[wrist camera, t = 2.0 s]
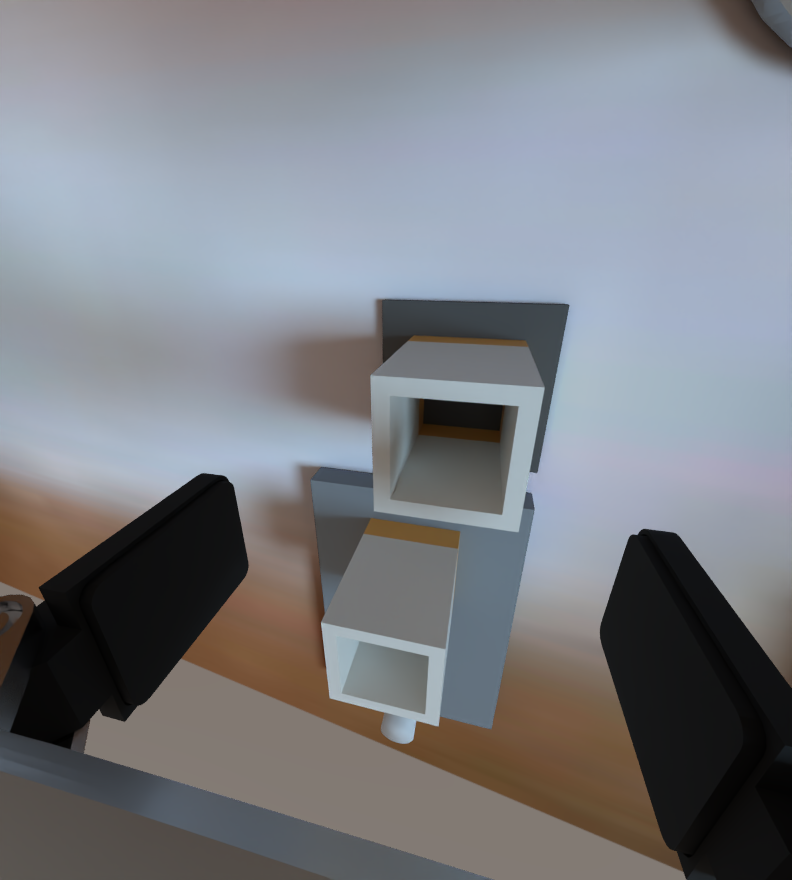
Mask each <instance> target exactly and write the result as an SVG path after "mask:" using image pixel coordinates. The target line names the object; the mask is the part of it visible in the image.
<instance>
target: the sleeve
mask: <svg viewBox="0 0 792 880" xmlns="http://www.w3.org/2000/svg"><path fill="white" fill-rule="evenodd" d="M370 378H371V417H372V456H373V495H374V511H376V512H383V513H389V514H396V515H403V516H410V517H417V518H423V519H430V520H437V521H444V522H451V523H458V524H464V525H471V526H478V527H485V528H492V529H498V530H505V531H512V532H519V527H520V522H521V516H522V511H523V505H524V500H525V494H526V489H527V483H528V478H529V472H530V467H531V461H532V455H533V450H534V444H535V439H536V433H537V428H538V422H539V417H540V411H541V406H542V400H543V395H544V389H545V387H544V384H543V382H542V379H541V377H540V374H539V372H538V369H537V367H536V364H535V362H534V359H533V357H532V355H531V352H530V350H529V347H528V345H527V342H526V341H525V340H503V339H482V338H460V337H438V336H416V335H414V336H413V337H412V338H410V339H409V340H408V341H407V342H406V343H405V344H404V345H403V346H402V347H401V348H400V349H399V350H397V351H396V352H395V353H394V354H393V355H392V356H391V357H390V358H389V359H388V360H387V361H385V362H384V363H383V364H382V365H381V366H380V367H379V368H378V369H377V370H376V371H375V372H374V373H372V374H371V375H370ZM424 399H435V400H448V401H460V402H473V403H485V404H497V405H503V409H502V416H501V424H500V431H496V430H486V429H475V428H464V427H454V426H443V425H433V424H423V417H424Z"/></svg>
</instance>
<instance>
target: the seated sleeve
mask: <svg viewBox="0 0 792 880" xmlns="http://www.w3.org/2000/svg"><path fill="white" fill-rule="evenodd" d="M459 539H460V531H454V530H447V529H441V528H434V527H427V526H421V525H414V524H408V523H401V522H394V521H388V520H381V519H374V518H371V519H370V521H369V523H368V526H367V528H366V530H365V532H364V534H363V536H362V538H361V540H360V542H359V544H358V546H357V548H356V551H355V553H354V555H353V557H352V559H351V561H350V563H349V565H348V567H347V569H346V571H345V573H344V576H343V578H342V580H341V582H340V584H339V586H338V588H337V590H336V592H335V594H334V596H333V598H332V601H331V603H330V605H329V607H328V609H327V611H326V613H325V615H324V617H323V619H322V621H321V627H322V635H323V644H324V652H325V661H326V669H327V678H328V686H329V695H330V698H331V699H335V700H339V701H343V702H347V703H350V704H354V705H358V706H362V707H366V708H370V709H374V710H377V711H381V712H385V713H389V714H393V715H397V716H401V717H404V718H408V719H412V720H416V721H420V722H424V723H428V724H431V725H435V726H439V718H440V709H441V701H442V693H443V684H444V676H445V668H446V659H447V651H448V643H449V634H450V626H451V617H452V609H453V601H454V591H455V581H456V570H457V560H458V550H459Z"/></svg>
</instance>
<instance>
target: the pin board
mask: <svg viewBox="0 0 792 880" xmlns="http://www.w3.org/2000/svg"><path fill="white" fill-rule="evenodd" d="M310 481H311V490H312V499H313V508H314V517H315V527H316V536H317V545H318V554H319V563H320V572H321V581H322V591H323V600H324V609H325V613H326V611H327V609H328V607H329V605H330V603H331V601H332V598H333V596H334V594H335V592H336V590H337V588H338V586H339V584H340V582H341V580H342V578H343V576H344V573H345V571H346V569H347V567H348V565H349V563H350V561H351V559H352V557H353V555H354V553H355V551H356V548H357V546H358V544H359V542H360V540H361V538H362V536H363V534H364V532H365V530H366V528H367V526H368V523H369V521H370V519H371V518H374V519H381V520H388V521H394V522H401V523H408V524H414V525H421V526H427V527H434V528H441V529H447V530H454V531H460V539H459V550H458V560H457V570H456V581H455V591H454V601H453V609H452V617H451V626H450V634H449V643H448V651H447V659H446V668H445V676H444V684H443V693H442V701H441V709H440V716H441V717H445V718H449V719H453V720H456V721H460V722H464V723H468V724H472V725H476V726H480V727H484V728H488V729H491V728H492V723H493V718H494V713H495V708H496V703H497V698H498V693H499V688H500V683H501V678H502V673H503V667H504V662H505V657H506V652H507V647H508V642H509V637H510V632H511V627H512V622H513V617H514V612H515V607H516V601H517V596H518V591H519V586H520V581H521V576H522V571H523V566H524V561H525V556H526V551H527V546H528V541H529V536H530V530H531V525H532V520H533V515H534V504H533V498H532V494H531V493H526V494H525V500H524V505H523V511H522V516H521V522H520V527H519V532H512V531H505V530H498V529H492V528H485V527H478V526H471V525H464V524H458V523H451V522H444V521H437V520H430V519H423V518H417V517H410V516H403V515H396V514H389V513H383V512H376V511H374V495H373V474H372V473H364V472H356V471H348V470H340V469H332V468H324V467H321V468H320V469H319V470H318V472H317V473H316V474H315V475H314V476H313V478H312V479H311V480H310ZM415 725H416V720H412V719H408V718H404V717H401V716H397V715H393V714H389V713H384V717H383V722H382V726H381V732H382V733H383V735H384V736H385V737H387V738H388V739H390V740H391V741H394V742H397V743H403V744H405V743H410V742H411V741H412V740H413V737H414V731H415Z"/></svg>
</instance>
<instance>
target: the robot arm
mask: <svg viewBox="0 0 792 880" xmlns="http://www.w3.org/2000/svg"><path fill="white" fill-rule="evenodd" d="M751 1H752V2H753V4H754V6H755V8H756V10H757V12H758V13H759V15H760V17H761V19H762V20H763V21H764V22H765V23H766V24H767V25H768V26H769V27H770V28H771V29H772V30H773V31H774V32H775V33H776V34H777V35H778V36H779V37H780V38H781V39H782V40H783V41H784V42H786V43H787V44H788V45H789V46H790V47H791V48H792V0H751ZM248 566H249V565H248V558H247V553H246V548H245V543H244V537H243V532H242V527H241V522H240V517H239V511H238V506H237V501H236V496H235V491H234V487H233V484H232V483H230V482H229V480H228V479H227V477H225V476H222V475H214V474H206V473H202V474H200V475H198V476H196V477H195V478H193V479H192V480H191V481H189V482H188V483H186V484H185V485H183V486H182V487H181V488H179V489H178V490H176V491H175V492H174V493H172V494H171V495H169V496H168V497H166V498H165V499H164V500H162V501H161V502H159V503H158V504H156V505H155V506H154V507H152V508H151V509H149V510H148V511H147V512H145V513H144V514H142V515H141V516H139V517H138V518H137V519H135V520H134V521H132V522H131V523H129V524H128V525H127V526H125V527H124V528H122V529H121V530H119V531H118V532H117V533H115V534H114V535H112V536H111V537H110V538H108V539H107V540H105V541H104V542H102V543H101V544H100V545H98V546H97V547H95V548H94V549H92V550H91V551H90V552H88V553H87V554H85V555H84V556H83V557H81V558H80V559H78V560H77V561H75V562H74V563H73V564H71V565H70V566H68V567H67V568H65V569H64V570H63V571H61V572H60V573H58V574H57V575H56V576H54V577H53V578H51V579H50V580H48V581H47V582H46V583H44V584H43V585H41V586H40V587H39V589H40V591H41V593H42V595H43V597H44V599H45V601H43V602H42V603H41V604H39V605H38V606H37V607H36V606H35V604H34V602H33V601H32V599H31V598H30V597H28V596H25V595H6V596H1V597H0V880H493V879H490V878H487V877H484V876H481V875H477V874H474V873H471V872H468V871H465V870H461V869H458V868H455V867H452V866H449V865H445V864H442V863H439V862H436V861H433V860H429V859H426V858H423V857H420V856H417V855H414V854H410V853H407V852H404V851H401V850H397V849H394V848H391V847H388V846H385V845H381V844H378V843H375V842H372V841H369V840H365V839H362V838H359V837H356V836H352V835H349V834H346V833H343V832H339V831H336V830H333V829H330V828H326V827H323V826H320V825H317V824H314V823H310V822H307V821H304V820H301V819H297V818H294V817H291V816H287V815H284V814H281V813H278V812H275V811H271V810H268V809H265V808H261V807H258V806H255V805H252V804H248V803H245V802H242V801H239V800H235V799H232V798H229V797H226V796H222V795H219V794H216V793H213V792H209V791H206V790H203V789H200V788H196V787H193V786H190V785H186V784H183V783H180V782H177V781H173V780H170V779H167V778H163V777H160V776H156V775H153V774H149V773H147V772H143V771H140V770H136V769H133V768H130V767H126V766H123V765H120V764H116V763H113V762H110V761H107V760H103V759H100V758H96V757H93V756H90V755H87V754H84V750H85V744H86V739H87V734H88V729H89V724H90V718H91V717H92V716H93V715H94V714H95V713H96V711H98V709H100V711H101V713H102V715H103V716H106V717H110V718H113V719H117V720H121V721H126V720H127V718H128V717H129V716H130V715H131V713H132V712H133V711H134V710H135V708H136V707H137V706H139V705H141V704H143V703H145V702H146V701H147V700H148V699H149V698H150V697H151V696H152V694H153V693H154V692H155V690H156V689H157V688H158V687H159V685H160V684H161V683H162V681H163V680H164V679H165V678H166V677H167V675H168V674H169V673H170V672H171V670H172V669H173V668H174V666H175V665H176V664H177V663H178V661H179V660H180V659H181V658H182V656H183V655H184V654H185V653H186V651H187V650H188V649H189V647H190V646H191V645H192V644H193V642H194V641H195V640H196V639H197V637H198V636H199V635H200V634H201V632H202V631H203V630H204V628H205V627H206V626H207V625H208V623H209V622H210V621H211V620H212V618H213V617H214V616H215V615H216V613H217V612H218V611H219V610H220V608H221V607H222V606H223V604H224V603H225V602H226V601H227V599H228V598H229V597H230V596H231V594H232V593H233V592H234V591H235V589H236V588H237V587H238V585H239V584H240V583H241V582H242V580H243V579H244V578H245V576H246V574H247V571H248ZM600 639H601V644H602V647H603V650H604V653H605V657H606V660H607V663H608V666H609V669H610V672H611V676H612V679H613V682H614V685H615V688H616V692H617V695H618V698H619V701H620V704H621V707H622V711H623V714H624V717H625V720H626V723H627V727H628V730H629V733H630V736H631V739H632V742H633V746H634V749H635V752H636V755H637V758H638V761H639V765H640V768H641V771H642V774H643V777H644V781H645V784H646V787H647V790H648V793H649V796H650V800H651V803H652V806H653V809H654V812H655V816H656V819H657V822H658V825H659V828H660V831H661V834H662V837H663V839H664V841H665V843H666V845H667V846H668V847H669V848H670V849H671V850H674V851H677V853H678V856H679V859H680V862H681V865H682V868H683V871H684V874H685V877H686V879H687V880H792V688H791V687H790V686H789V684H788V683H787V682H786V680H785V679H784V678H783V676H782V675H781V674H780V672H779V671H778V669H777V668H776V667H775V665H774V664H773V663H772V661H771V660H770V659H769V657H768V656H767V655H766V653H765V652H764V650H763V649H762V648H761V646H760V645H759V644H758V642H757V641H756V640H755V638H754V637H753V636H752V634H751V633H750V632H749V630H748V629H747V627H746V626H745V625H744V623H743V622H742V621H741V619H740V618H739V617H738V615H737V614H736V613H735V611H734V610H733V609H732V607H731V606H730V604H729V603H728V602H727V600H726V599H725V598H724V596H723V595H722V594H721V592H720V591H719V590H718V588H717V587H716V585H715V584H714V583H713V581H712V580H711V579H710V577H709V576H708V575H707V573H706V572H705V571H704V569H703V568H702V567H701V565H700V564H699V562H698V561H697V560H696V558H695V557H694V556H693V554H692V553H691V552H690V550H689V549H688V548H687V546H686V545H685V544H684V542H683V541H682V539H681V538H680V537H679V536H678V535H677V534H676V533H673V532H665V531H657V530H649V529H643V530H641V531H640V532H639V534H638V535H631V536H630V537H629V539H628V542H627V545H626V548H625V551H624V554H623V557H622V560H621V563H620V566H619V570H618V573H617V576H616V579H615V582H614V585H613V588H612V591H611V594H610V597H609V600H608V604H607V607H606V610H605V613H604V616H603V619H602V622H601V626H600Z"/></svg>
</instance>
